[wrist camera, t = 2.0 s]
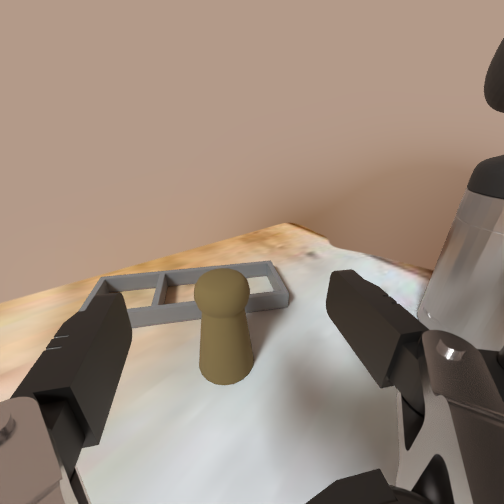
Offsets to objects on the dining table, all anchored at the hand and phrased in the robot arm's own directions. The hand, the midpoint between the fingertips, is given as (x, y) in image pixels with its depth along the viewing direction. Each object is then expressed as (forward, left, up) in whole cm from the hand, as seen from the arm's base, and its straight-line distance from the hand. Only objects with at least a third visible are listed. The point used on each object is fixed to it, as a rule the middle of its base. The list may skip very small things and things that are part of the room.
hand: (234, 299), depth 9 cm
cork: (0, -11, -17) cm, 20 cm away
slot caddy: (+4, -23, -17) cm, 29 cm away
